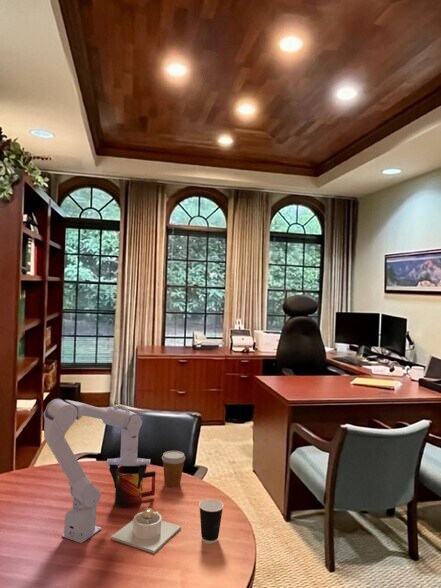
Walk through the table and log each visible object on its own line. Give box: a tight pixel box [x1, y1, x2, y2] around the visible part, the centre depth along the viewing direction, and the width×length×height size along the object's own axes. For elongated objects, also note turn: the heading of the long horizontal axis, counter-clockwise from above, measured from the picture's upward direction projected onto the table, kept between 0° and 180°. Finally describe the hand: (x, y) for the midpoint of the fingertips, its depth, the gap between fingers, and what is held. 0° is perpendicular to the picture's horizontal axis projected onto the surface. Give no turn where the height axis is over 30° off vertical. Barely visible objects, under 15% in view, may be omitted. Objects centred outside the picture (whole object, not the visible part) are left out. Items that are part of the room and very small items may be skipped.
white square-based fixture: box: [110, 511, 182, 554], centre depth 140 cm, size 16×16×5 cm
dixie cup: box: [198, 498, 225, 545], centre depth 139 cm, size 8×8×11 cm
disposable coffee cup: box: [161, 450, 186, 488], centre depth 178 cm, size 10×10×12 cm
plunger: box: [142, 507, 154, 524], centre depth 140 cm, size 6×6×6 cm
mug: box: [114, 466, 157, 509], centre depth 163 cm, size 10×14×12 cm
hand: (127, 486), depth 150 cm, fingers open, 7 cm apart
